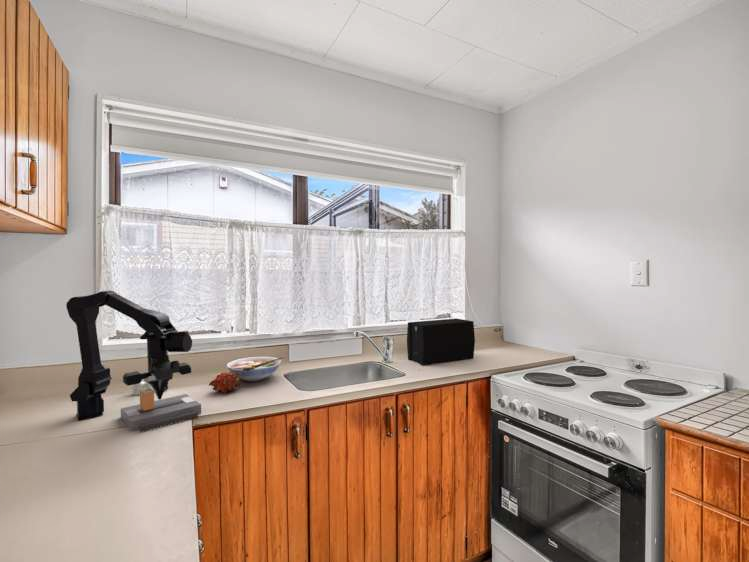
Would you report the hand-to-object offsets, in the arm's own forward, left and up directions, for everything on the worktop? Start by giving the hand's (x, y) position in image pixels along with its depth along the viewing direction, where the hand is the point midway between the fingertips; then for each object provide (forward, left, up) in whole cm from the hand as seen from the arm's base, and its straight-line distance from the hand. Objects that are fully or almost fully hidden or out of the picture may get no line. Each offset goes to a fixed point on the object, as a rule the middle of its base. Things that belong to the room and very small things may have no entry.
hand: (159, 399), depth 122 cm
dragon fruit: (+25, +9, -6) cm, 28 cm away
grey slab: (0, 0, -6) cm, 6 cm away
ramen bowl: (+41, +17, -6) cm, 45 cm away
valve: (+4, +30, -6) cm, 31 cm away
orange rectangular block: (-4, 0, -2) cm, 4 cm away
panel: (0, 0, -6) cm, 6 cm away
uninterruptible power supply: (+129, -20, -6) cm, 131 cm away
